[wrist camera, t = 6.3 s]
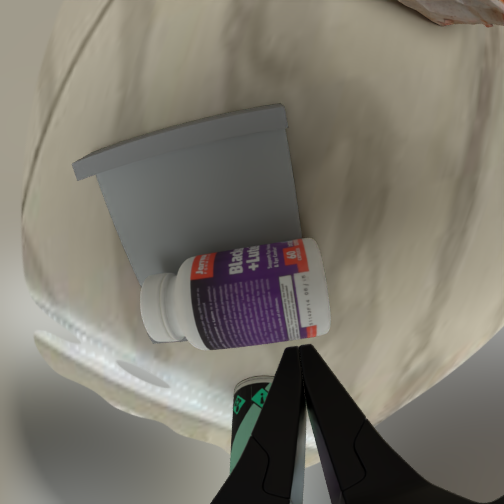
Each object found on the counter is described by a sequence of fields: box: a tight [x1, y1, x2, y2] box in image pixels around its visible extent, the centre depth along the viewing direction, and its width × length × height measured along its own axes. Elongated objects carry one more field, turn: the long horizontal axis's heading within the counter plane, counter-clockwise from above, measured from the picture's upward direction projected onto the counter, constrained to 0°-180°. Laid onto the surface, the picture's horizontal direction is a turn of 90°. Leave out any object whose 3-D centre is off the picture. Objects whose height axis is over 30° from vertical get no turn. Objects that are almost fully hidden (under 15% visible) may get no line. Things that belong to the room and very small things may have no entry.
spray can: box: [230, 376, 274, 474], centre depth 18 cm, size 6×6×20 cm
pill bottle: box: [140, 238, 331, 350], centre depth 17 cm, size 5×5×10 cm
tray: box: [72, 103, 302, 344], centre depth 17 cm, size 11×13×2 cm
